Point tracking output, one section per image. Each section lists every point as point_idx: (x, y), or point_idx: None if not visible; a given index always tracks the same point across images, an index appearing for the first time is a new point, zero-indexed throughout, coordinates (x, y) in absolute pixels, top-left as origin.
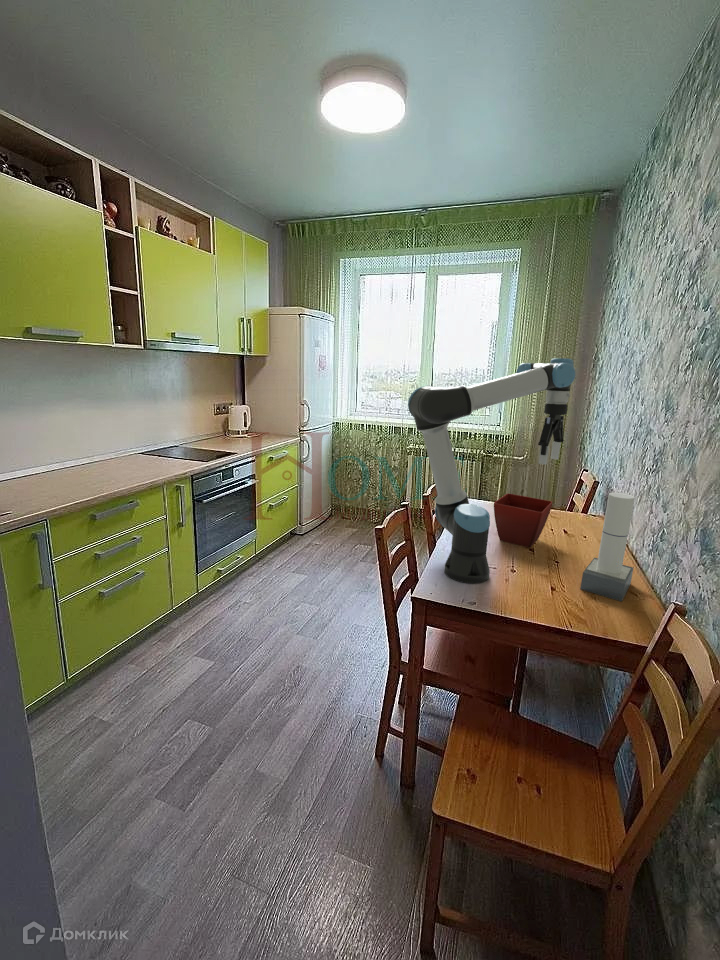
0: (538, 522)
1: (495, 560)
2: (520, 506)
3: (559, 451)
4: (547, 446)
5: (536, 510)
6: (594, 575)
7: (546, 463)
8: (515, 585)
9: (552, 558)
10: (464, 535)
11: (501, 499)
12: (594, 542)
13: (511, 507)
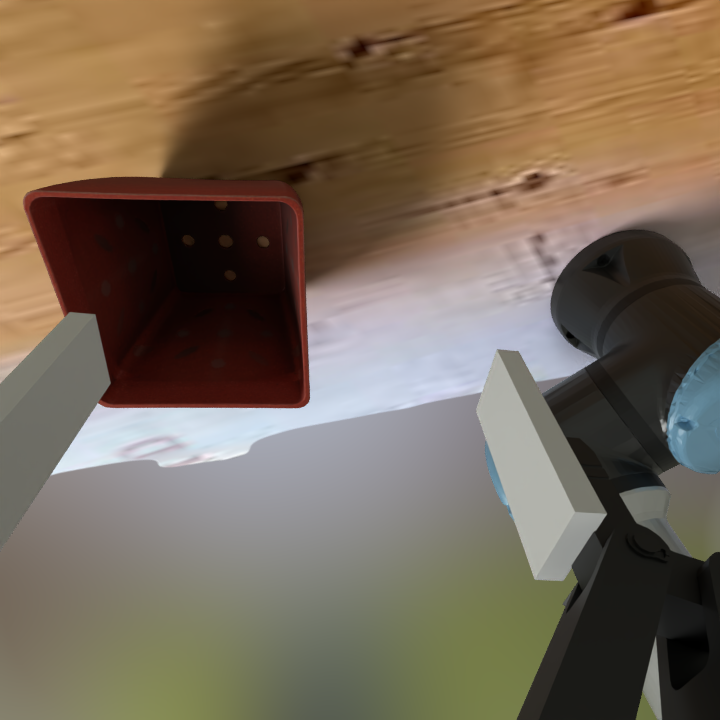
0: (296, 193)
1: (473, 253)
2: (107, 320)
3: (20, 371)
4: (599, 522)
5: (88, 247)
6: None
7: (518, 357)
8: (652, 143)
9: (331, 74)
10: None
11: (207, 399)
12: None
13: (307, 337)
